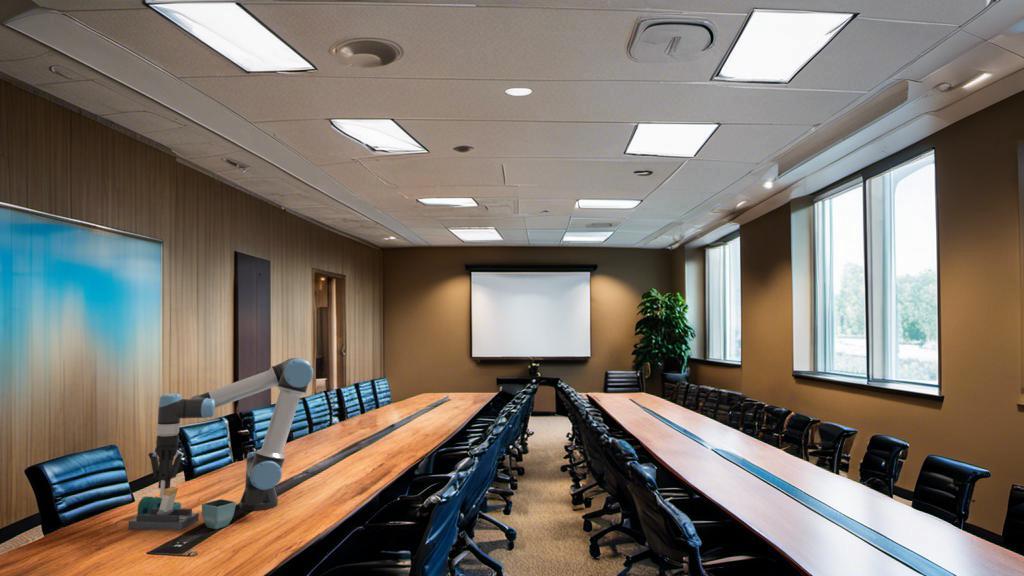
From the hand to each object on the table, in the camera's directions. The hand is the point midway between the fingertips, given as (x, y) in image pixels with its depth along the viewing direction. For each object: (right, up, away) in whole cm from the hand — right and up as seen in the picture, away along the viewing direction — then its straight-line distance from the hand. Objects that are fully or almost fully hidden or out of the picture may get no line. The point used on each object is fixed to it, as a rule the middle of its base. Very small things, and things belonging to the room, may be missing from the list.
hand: (163, 497), depth 232 cm
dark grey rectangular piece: (+1, -7, -1) cm, 7 cm away
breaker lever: (+1, -7, -1) cm, 7 cm away
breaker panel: (+1, -10, -1) cm, 10 cm away
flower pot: (+22, -11, -2) cm, 24 cm away
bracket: (-9, -12, +15) cm, 21 cm away
